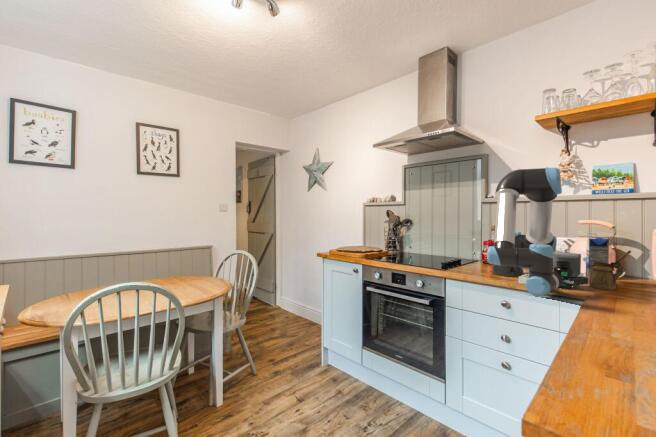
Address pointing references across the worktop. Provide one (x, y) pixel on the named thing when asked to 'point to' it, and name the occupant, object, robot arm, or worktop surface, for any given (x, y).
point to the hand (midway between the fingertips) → (563, 274)
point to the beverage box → (596, 253)
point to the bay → (569, 257)
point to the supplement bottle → (564, 272)
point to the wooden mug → (606, 274)
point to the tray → (523, 278)
